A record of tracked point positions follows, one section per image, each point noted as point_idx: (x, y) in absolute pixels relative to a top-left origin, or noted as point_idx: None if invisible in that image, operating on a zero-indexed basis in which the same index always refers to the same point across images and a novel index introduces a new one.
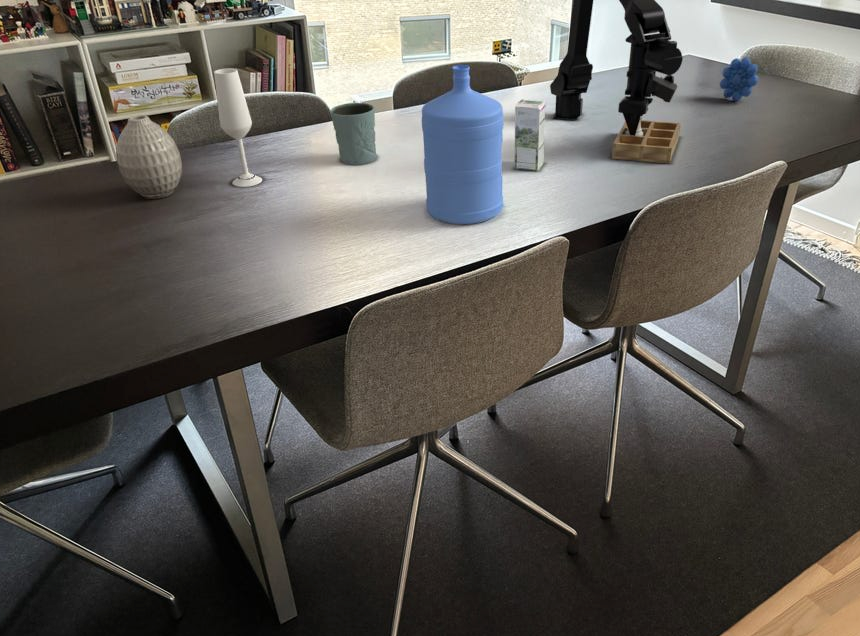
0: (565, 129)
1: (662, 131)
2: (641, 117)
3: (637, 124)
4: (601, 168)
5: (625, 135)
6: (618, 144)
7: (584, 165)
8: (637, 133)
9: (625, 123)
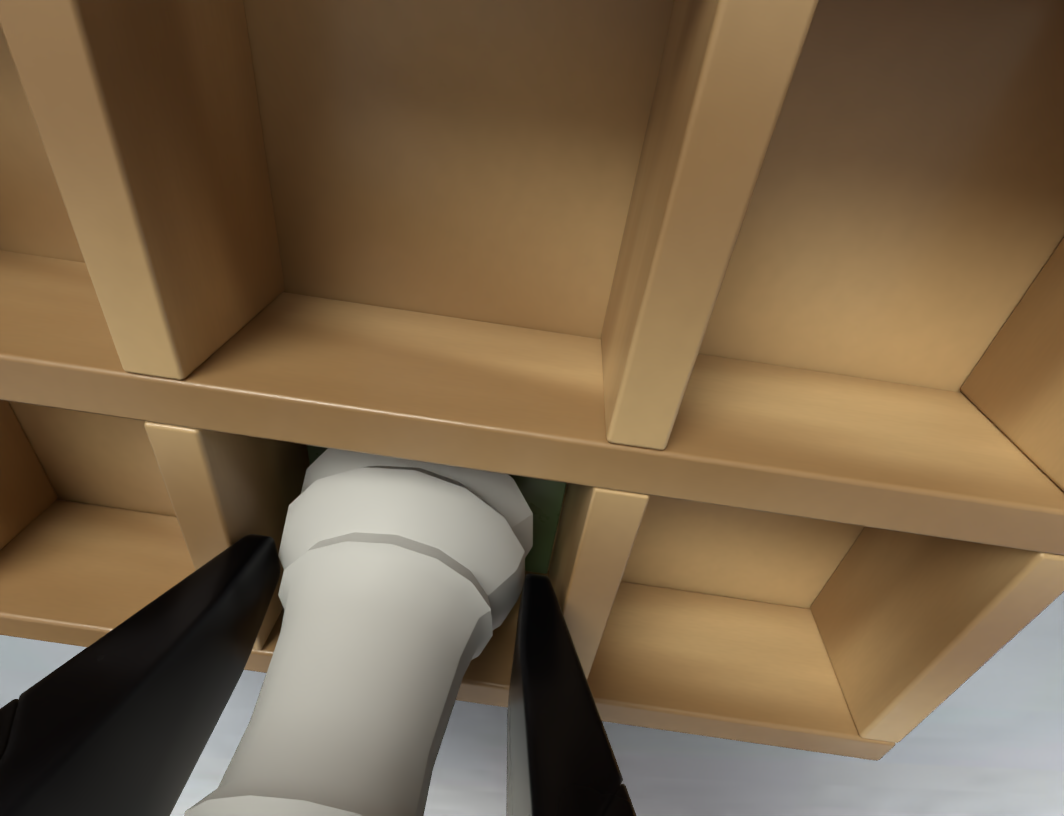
0: (215, 764)
1: (134, 151)
2: (322, 809)
3: (621, 784)
4: (1055, 669)
5: None
6: (906, 724)
7: (939, 735)
8: (485, 568)
9: None
